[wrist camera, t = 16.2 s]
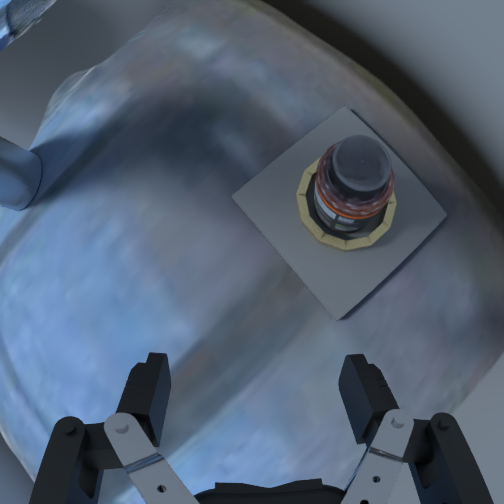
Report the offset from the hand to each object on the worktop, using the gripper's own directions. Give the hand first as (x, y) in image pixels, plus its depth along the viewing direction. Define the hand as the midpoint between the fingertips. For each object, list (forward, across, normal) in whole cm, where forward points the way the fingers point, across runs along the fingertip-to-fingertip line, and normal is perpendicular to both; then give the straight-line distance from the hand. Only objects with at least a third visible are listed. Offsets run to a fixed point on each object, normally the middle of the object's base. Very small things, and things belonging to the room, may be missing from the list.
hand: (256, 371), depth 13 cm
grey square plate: (+19, -10, -3) cm, 22 cm away
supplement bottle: (+19, -9, -3) cm, 21 cm away
